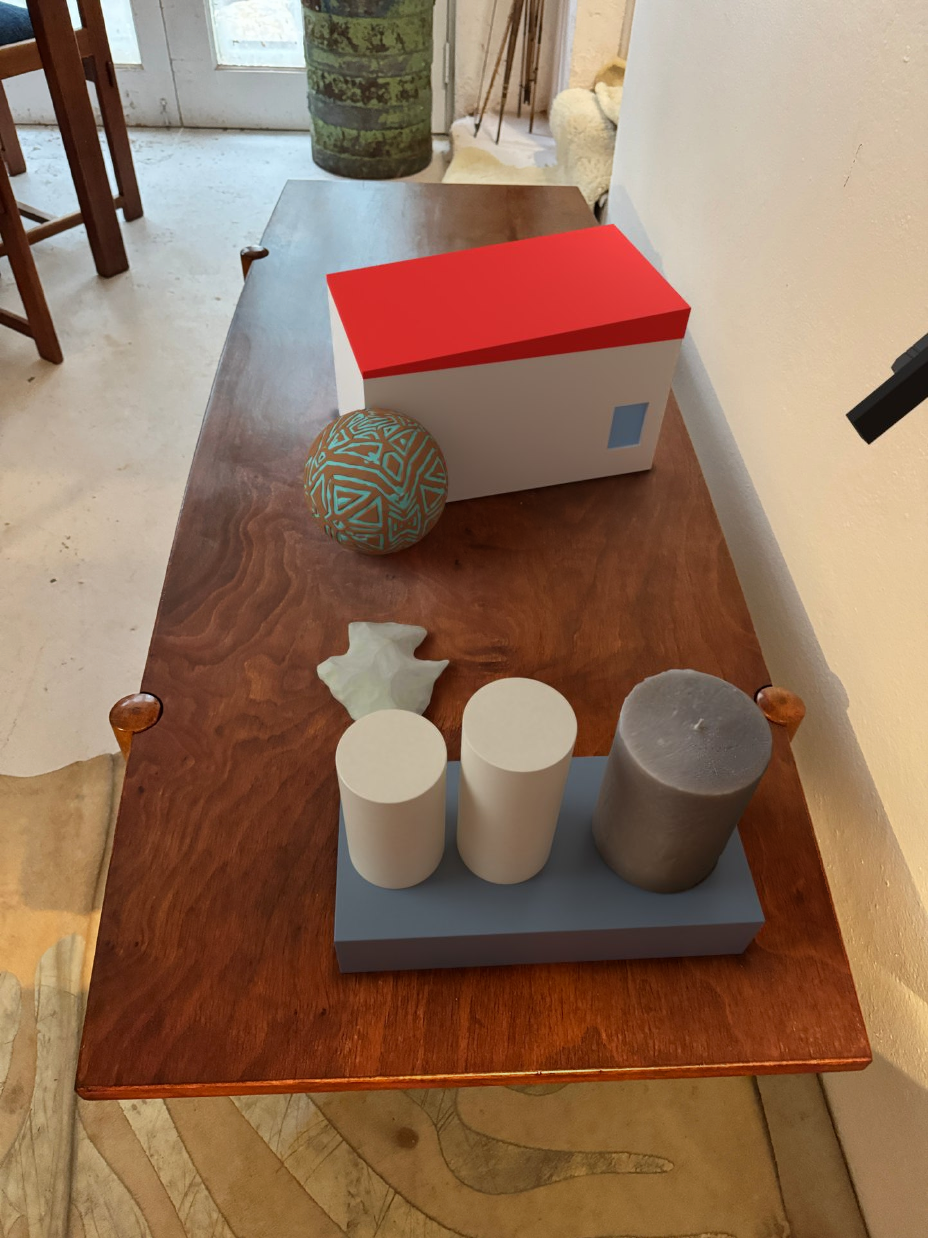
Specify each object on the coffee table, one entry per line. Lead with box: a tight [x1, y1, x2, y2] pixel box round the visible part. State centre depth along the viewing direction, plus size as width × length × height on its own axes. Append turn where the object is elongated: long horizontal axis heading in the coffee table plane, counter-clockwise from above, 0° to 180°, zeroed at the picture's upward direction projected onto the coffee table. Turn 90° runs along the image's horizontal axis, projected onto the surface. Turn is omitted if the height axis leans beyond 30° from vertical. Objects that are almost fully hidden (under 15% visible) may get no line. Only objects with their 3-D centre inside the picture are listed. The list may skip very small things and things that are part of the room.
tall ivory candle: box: [457, 677, 578, 884], centre depth 57 cm, size 7×7×15 cm
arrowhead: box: [316, 621, 450, 722], centre depth 78 cm, size 12×3×15 cm
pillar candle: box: [592, 668, 774, 894], centre depth 58 cm, size 10×10×15 cm
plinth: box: [333, 755, 766, 974], centre depth 65 cm, size 30×14×6 cm, turn 93°
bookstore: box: [325, 223, 692, 503], centre depth 98 cm, size 21×35×21 cm, turn 106°
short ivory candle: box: [335, 709, 448, 889], centre depth 58 cm, size 7×7×12 cm
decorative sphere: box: [302, 408, 449, 555], centre depth 88 cm, size 15×15×15 cm
